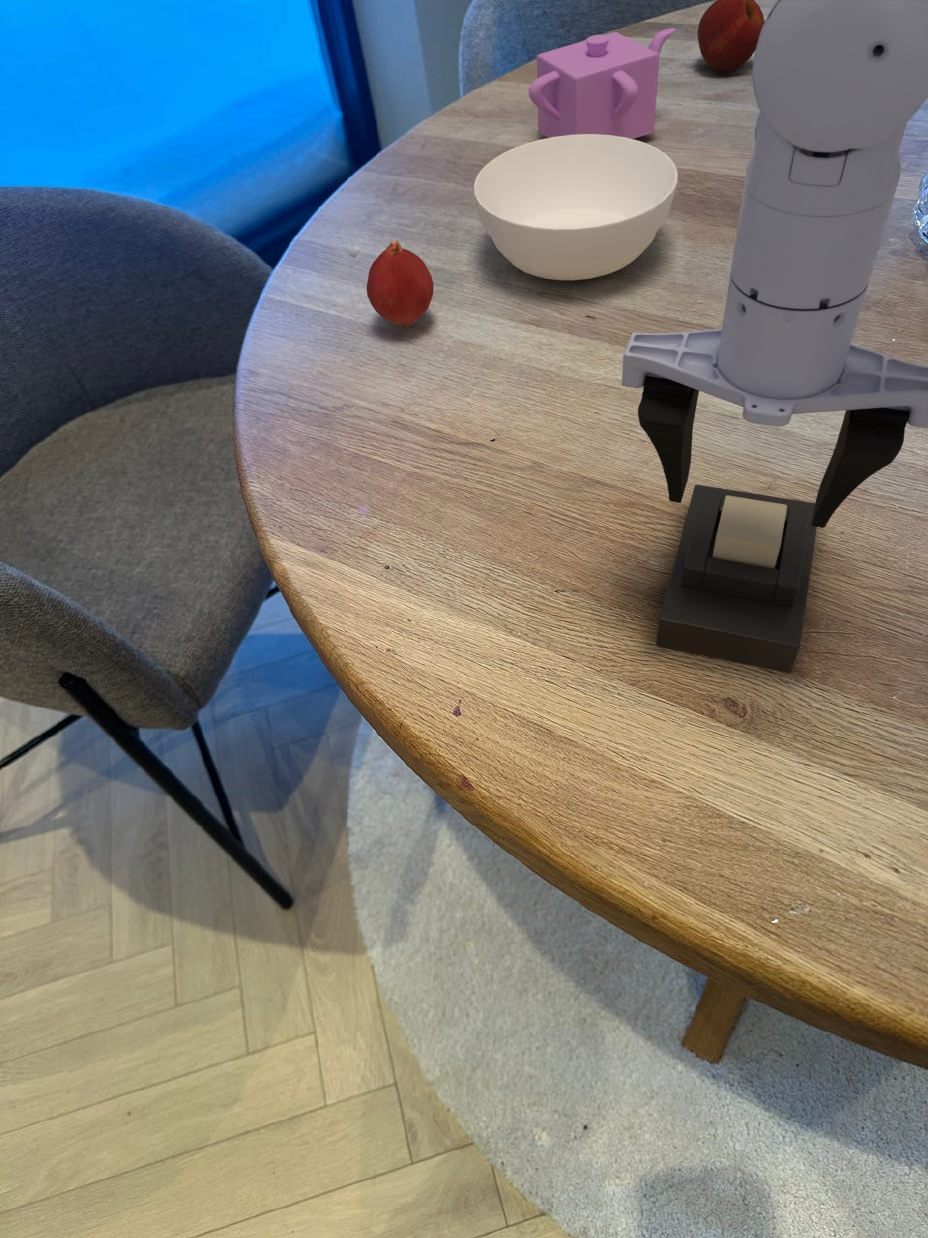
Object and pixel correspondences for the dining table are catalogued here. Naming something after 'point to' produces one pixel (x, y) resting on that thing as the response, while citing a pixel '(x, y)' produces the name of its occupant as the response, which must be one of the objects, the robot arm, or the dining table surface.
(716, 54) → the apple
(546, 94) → the teapot
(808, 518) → the switch plate
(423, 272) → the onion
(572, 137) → the bowl
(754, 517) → the switch
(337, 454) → the dining table surface
